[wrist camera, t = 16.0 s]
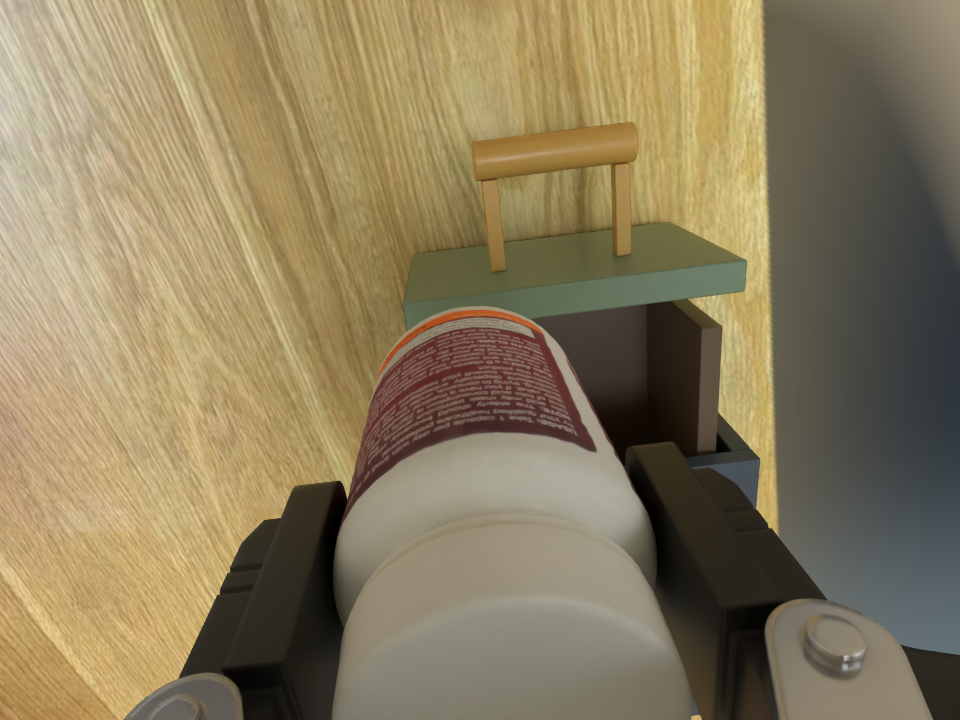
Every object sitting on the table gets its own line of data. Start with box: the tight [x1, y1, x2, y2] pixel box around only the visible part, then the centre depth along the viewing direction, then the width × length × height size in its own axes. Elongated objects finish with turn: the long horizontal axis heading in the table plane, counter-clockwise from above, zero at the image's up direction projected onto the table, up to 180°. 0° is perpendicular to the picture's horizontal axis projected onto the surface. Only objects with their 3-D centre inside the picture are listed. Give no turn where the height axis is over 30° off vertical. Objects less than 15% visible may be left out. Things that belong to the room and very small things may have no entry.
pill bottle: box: [331, 306, 692, 720], centre depth 10 cm, size 5×5×8 cm
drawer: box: [402, 122, 747, 466], centre depth 26 cm, size 18×12×8 cm
